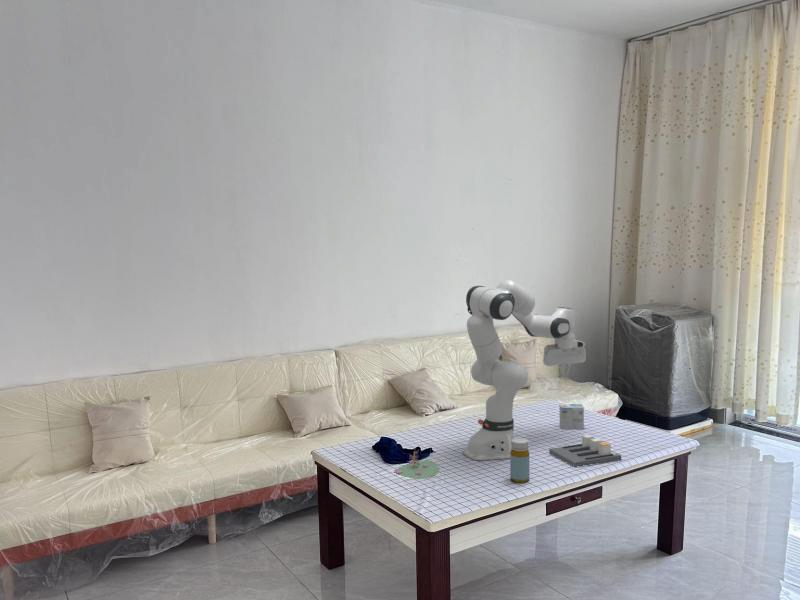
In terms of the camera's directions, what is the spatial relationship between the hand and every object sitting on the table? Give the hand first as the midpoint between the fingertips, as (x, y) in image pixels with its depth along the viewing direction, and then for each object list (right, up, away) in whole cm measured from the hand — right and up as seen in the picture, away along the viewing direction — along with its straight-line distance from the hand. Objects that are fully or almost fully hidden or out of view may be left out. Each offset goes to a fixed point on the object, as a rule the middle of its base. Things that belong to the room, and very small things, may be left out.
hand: (564, 373), depth 282 cm
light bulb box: (+8, -28, +18) cm, 34 cm away
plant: (-71, -35, -35) cm, 86 cm away
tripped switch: (+9, -29, -27) cm, 41 cm away
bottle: (-29, -34, -46) cm, 65 cm away
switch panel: (+2, -31, -23) cm, 39 cm away
